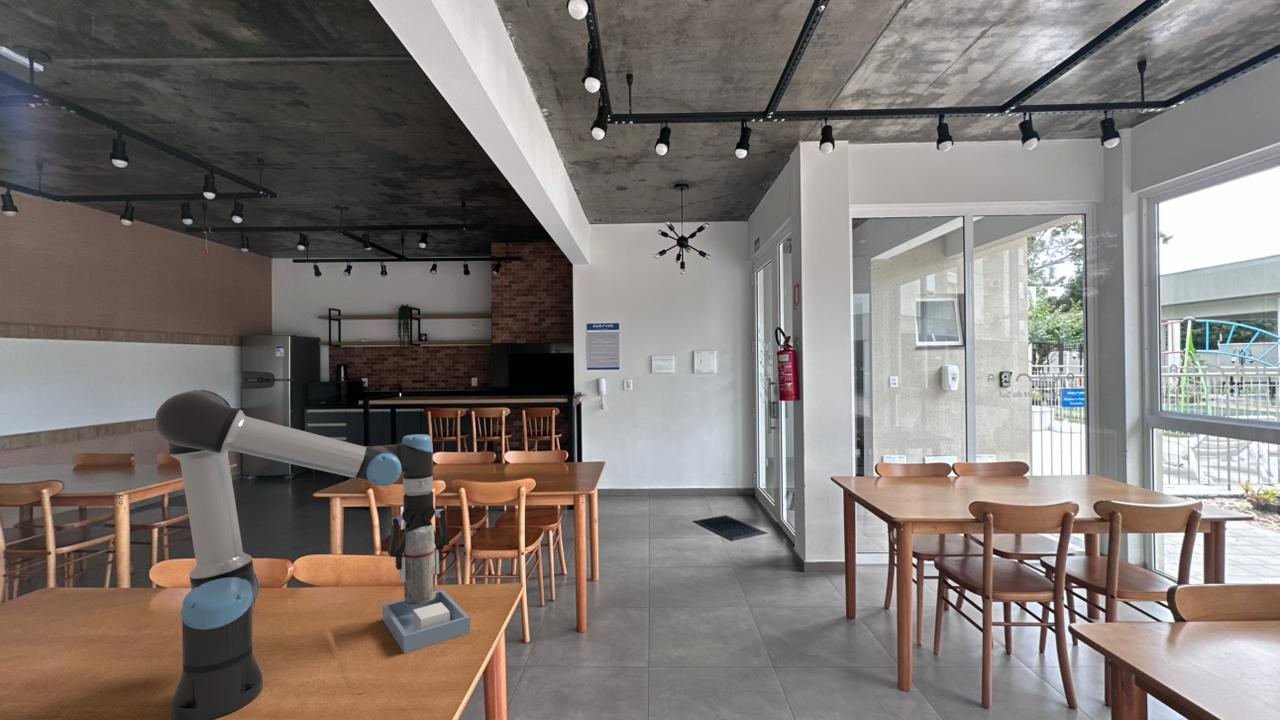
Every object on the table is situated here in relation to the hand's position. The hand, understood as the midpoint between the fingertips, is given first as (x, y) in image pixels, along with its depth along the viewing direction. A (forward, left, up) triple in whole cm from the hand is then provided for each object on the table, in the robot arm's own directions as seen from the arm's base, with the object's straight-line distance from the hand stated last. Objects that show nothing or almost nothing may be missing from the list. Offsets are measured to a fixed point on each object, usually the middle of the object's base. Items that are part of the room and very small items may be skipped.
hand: (419, 576), depth 148 cm
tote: (0, -5, -12) cm, 13 cm away
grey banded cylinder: (0, 0, -6) cm, 6 cm away
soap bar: (0, -10, -11) cm, 16 cm away
